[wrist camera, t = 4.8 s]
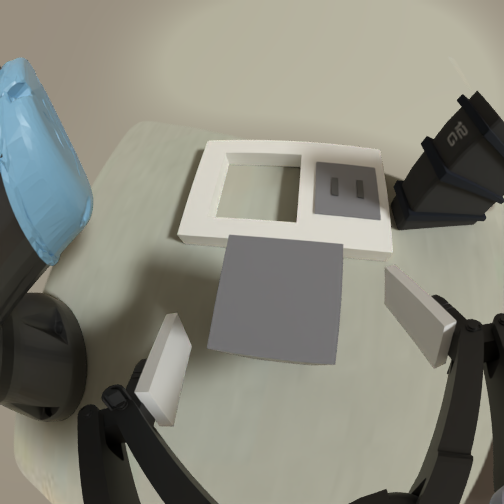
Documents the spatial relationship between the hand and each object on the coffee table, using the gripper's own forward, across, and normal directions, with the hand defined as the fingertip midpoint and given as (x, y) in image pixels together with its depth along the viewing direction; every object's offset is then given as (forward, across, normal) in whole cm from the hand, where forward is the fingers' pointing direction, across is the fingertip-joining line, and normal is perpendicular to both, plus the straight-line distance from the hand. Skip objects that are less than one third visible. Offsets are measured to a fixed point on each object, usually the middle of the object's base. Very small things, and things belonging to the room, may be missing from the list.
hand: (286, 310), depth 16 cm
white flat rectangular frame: (+13, +3, +4) cm, 14 cm away
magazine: (+9, +19, 0) cm, 21 cm away
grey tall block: (+4, 0, -5) cm, 6 cm away
